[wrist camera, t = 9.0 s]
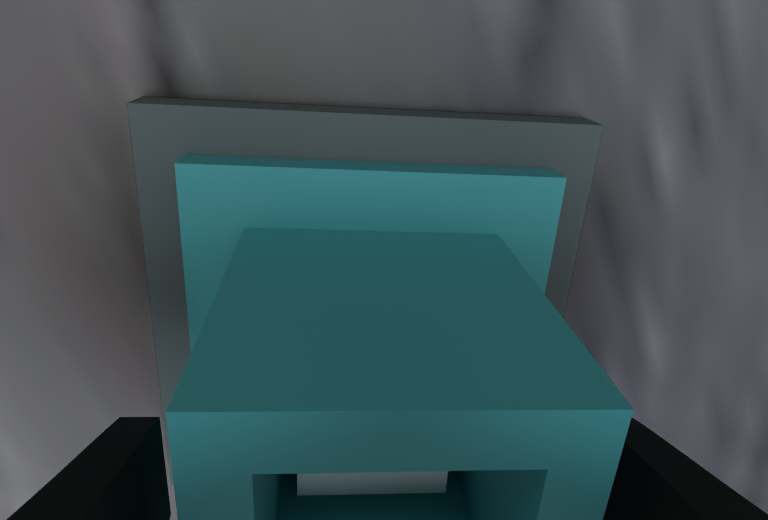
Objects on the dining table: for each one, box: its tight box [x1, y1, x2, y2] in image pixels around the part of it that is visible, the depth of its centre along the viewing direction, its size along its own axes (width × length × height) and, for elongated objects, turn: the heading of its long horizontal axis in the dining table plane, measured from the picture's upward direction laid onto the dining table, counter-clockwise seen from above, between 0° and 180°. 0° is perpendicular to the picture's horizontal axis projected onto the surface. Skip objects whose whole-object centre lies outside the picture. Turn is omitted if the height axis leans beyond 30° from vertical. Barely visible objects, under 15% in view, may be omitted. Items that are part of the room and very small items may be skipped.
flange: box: [166, 154, 634, 520], centre depth 11 cm, size 8×8×7 cm
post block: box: [127, 97, 603, 496], centre depth 12 cm, size 10×10×5 cm
